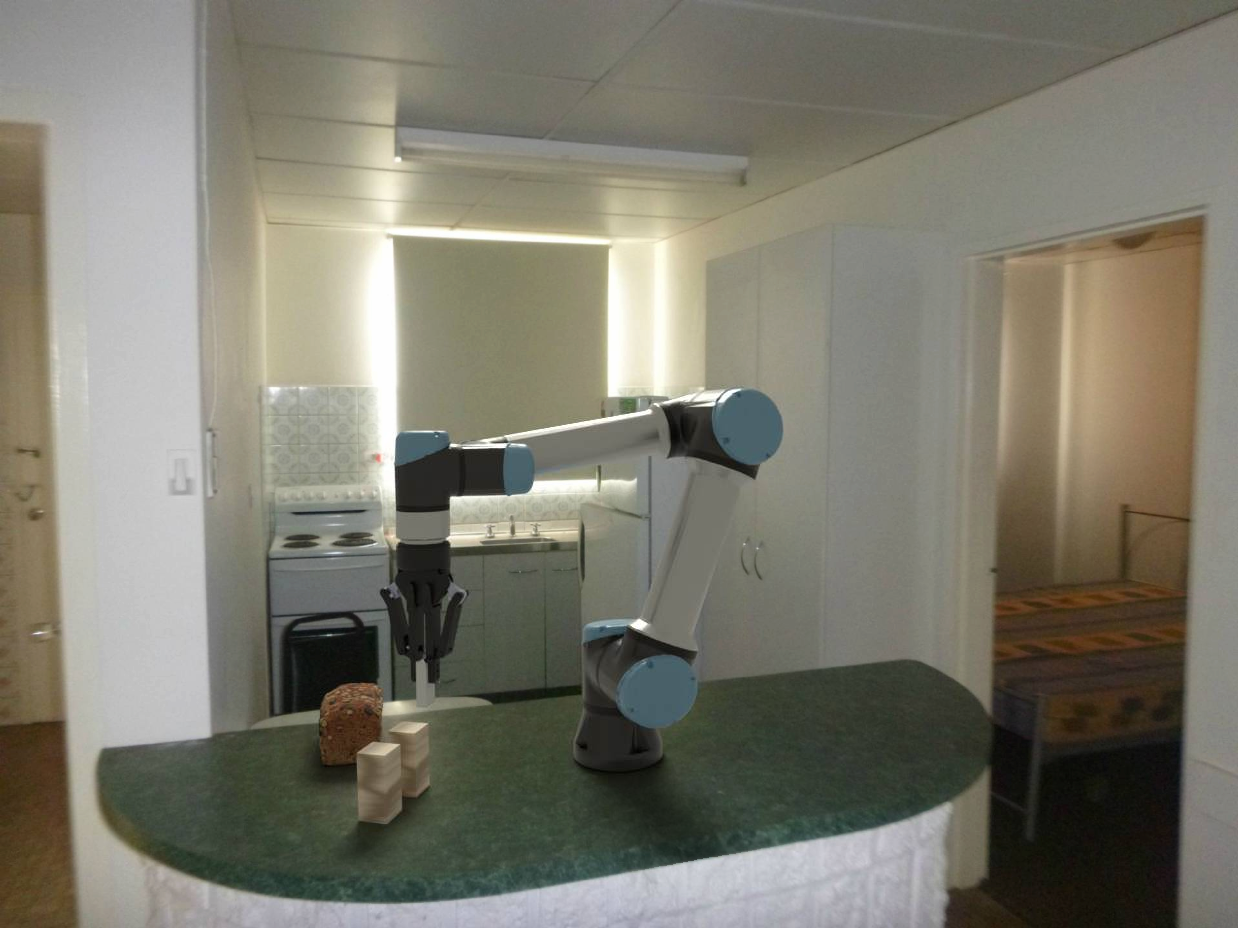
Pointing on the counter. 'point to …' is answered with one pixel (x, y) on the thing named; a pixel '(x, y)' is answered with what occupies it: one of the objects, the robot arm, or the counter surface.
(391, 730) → the light wood tall block
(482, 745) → the counter surface
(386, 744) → the light wood rectangular bar
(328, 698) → the bread
